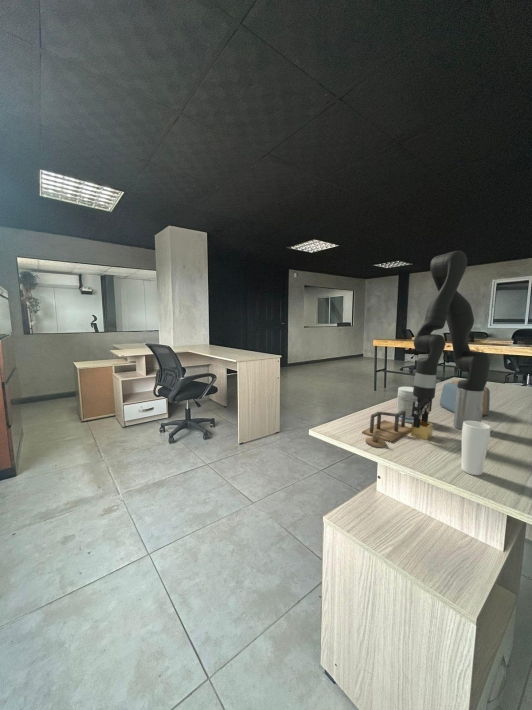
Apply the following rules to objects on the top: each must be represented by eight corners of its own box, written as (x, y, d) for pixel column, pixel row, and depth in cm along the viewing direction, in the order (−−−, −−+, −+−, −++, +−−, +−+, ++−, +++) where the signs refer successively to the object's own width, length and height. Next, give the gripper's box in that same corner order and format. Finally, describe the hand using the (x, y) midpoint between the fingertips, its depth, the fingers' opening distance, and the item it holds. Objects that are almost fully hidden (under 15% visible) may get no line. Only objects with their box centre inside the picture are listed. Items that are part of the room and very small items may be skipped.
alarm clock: (490, 416, 137) (494, 384, 136) (457, 416, 138) (460, 384, 136) (467, 406, 154) (470, 377, 152) (437, 405, 154) (440, 377, 152)
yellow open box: (432, 435, 113) (433, 423, 112) (427, 440, 109) (428, 427, 108) (416, 431, 117) (417, 419, 117) (410, 435, 113) (411, 423, 113)
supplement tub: (401, 414, 138) (404, 385, 136) (422, 420, 131) (425, 389, 129) (392, 419, 132) (394, 388, 130) (413, 425, 125) (415, 392, 123)
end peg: (388, 443, 105) (389, 431, 105) (380, 449, 100) (381, 436, 100) (370, 437, 110) (371, 425, 110) (361, 442, 105) (362, 430, 105)
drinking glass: (480, 468, 88) (485, 422, 87) (489, 479, 82) (495, 430, 80) (455, 464, 91) (459, 419, 89) (461, 475, 84) (467, 426, 82)
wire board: (411, 429, 119) (413, 411, 118) (391, 442, 106) (393, 422, 105) (383, 421, 128) (385, 404, 127) (361, 433, 114) (363, 414, 113)
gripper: (428, 389, 103) (424, 432, 105) (441, 384, 113) (436, 423, 115) (407, 385, 109) (403, 426, 111) (421, 381, 118) (417, 418, 120)
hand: (420, 424), depth 113 cm, fingers open, 8 cm apart
